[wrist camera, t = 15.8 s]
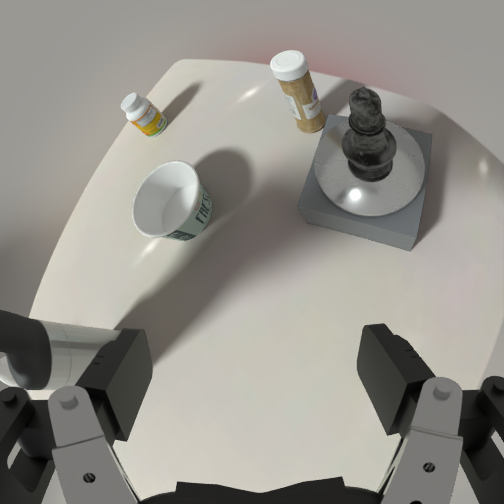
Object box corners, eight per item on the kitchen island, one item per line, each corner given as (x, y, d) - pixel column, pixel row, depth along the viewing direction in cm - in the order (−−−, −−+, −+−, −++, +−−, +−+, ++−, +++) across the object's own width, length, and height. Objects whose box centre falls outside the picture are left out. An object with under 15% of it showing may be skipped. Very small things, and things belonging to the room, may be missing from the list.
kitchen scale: (306, 222, 39) (297, 206, 35) (335, 133, 41) (329, 110, 36) (410, 251, 33) (416, 238, 29) (427, 153, 35) (432, 130, 30)
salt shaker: (374, 133, 32) (367, 56, 21) (405, 168, 29) (413, 93, 19) (335, 156, 33) (314, 83, 22) (364, 194, 31) (357, 124, 20)
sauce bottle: (42, 386, 52) (-23, 383, 36) (40, 354, 54) (-25, 346, 38) (58, 392, 49) (-13, 391, 33) (56, 357, 52) (-15, 350, 35)
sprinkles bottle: (327, 131, 42) (306, 66, 30) (297, 136, 44) (269, 74, 31) (324, 109, 43) (303, 45, 31) (296, 114, 45) (269, 52, 33)
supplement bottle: (146, 126, 58) (117, 101, 49) (166, 112, 57) (139, 85, 48) (148, 142, 56) (117, 116, 47) (169, 128, 55) (140, 100, 46)
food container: (156, 194, 51) (132, 178, 45) (216, 169, 47) (195, 148, 42) (158, 258, 47) (131, 247, 41) (225, 237, 44) (202, 221, 38)
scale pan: (304, 207, 35) (299, 198, 33) (332, 122, 37) (329, 110, 35) (411, 235, 30) (414, 228, 28) (427, 141, 32) (429, 129, 29)
